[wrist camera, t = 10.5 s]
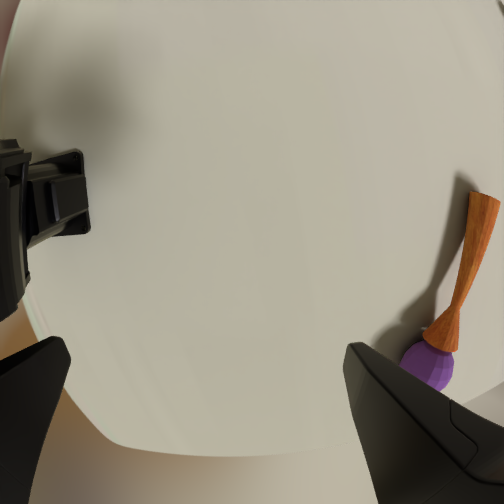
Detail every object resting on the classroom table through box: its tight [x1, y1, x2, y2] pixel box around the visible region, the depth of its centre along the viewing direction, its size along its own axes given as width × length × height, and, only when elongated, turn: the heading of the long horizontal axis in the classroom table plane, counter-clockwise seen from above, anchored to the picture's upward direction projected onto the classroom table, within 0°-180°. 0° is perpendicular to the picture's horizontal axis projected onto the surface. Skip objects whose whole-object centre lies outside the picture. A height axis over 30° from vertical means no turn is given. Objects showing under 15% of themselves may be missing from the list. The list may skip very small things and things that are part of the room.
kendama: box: [399, 192, 501, 391], centre depth 20 cm, size 6×6×20 cm
